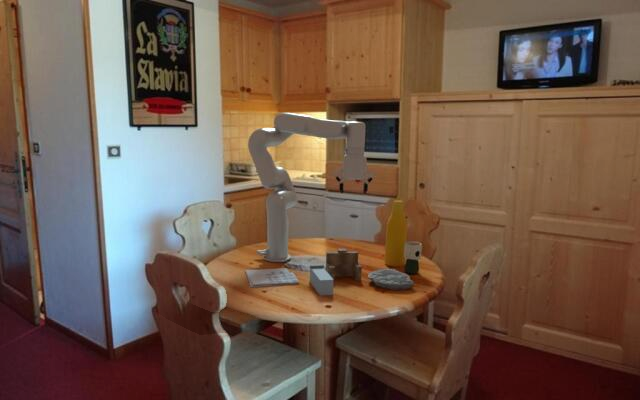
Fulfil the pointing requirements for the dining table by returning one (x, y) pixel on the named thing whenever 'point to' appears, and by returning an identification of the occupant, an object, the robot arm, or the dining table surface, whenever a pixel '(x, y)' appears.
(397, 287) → the flat grey rock
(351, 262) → the notched brown block
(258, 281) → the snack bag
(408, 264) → the character mug
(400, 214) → the yellow bottle
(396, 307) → the dining table surface
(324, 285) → the grey rectangular block
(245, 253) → the dining table surface
